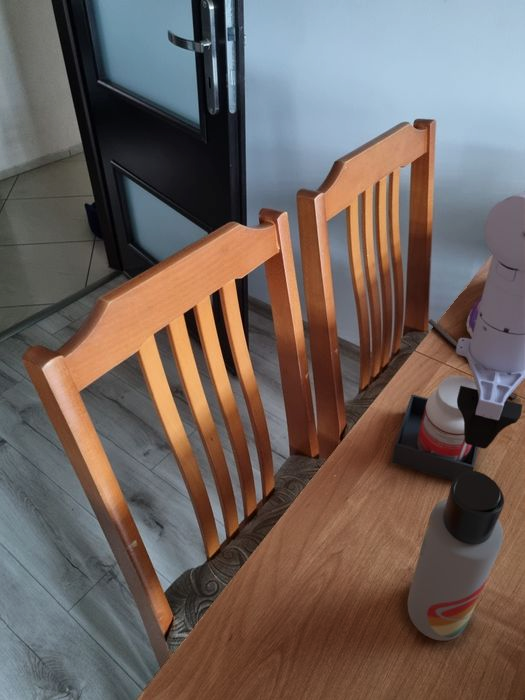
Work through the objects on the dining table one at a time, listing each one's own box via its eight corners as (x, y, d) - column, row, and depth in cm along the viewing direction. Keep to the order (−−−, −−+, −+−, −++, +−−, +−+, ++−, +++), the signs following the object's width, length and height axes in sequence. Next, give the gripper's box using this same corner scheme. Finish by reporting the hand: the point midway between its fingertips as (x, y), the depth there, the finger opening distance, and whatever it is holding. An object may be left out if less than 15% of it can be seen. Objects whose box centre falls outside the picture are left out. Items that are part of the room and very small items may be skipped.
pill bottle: (449, 420, 71) (468, 363, 63) (478, 458, 67) (502, 403, 59) (406, 436, 70) (419, 380, 61) (433, 476, 66) (451, 422, 58)
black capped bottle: (474, 642, 52) (531, 522, 39) (412, 642, 52) (449, 523, 39) (458, 583, 56) (505, 457, 43) (401, 583, 56) (431, 458, 43)
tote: (478, 431, 71) (484, 412, 69) (468, 485, 65) (474, 467, 63) (408, 412, 74) (411, 394, 72) (391, 462, 68) (394, 444, 66)
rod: (513, 397, 74) (517, 396, 74) (428, 319, 88) (432, 318, 88) (512, 401, 75) (516, 399, 75) (427, 323, 88) (431, 322, 88)
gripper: (477, 267, 57) (454, 366, 65) (452, 353, 47) (429, 456, 55) (552, 280, 54) (518, 381, 63) (543, 374, 44) (504, 478, 53)
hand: (481, 417), depth 59 cm, fingers open, 7 cm apart
